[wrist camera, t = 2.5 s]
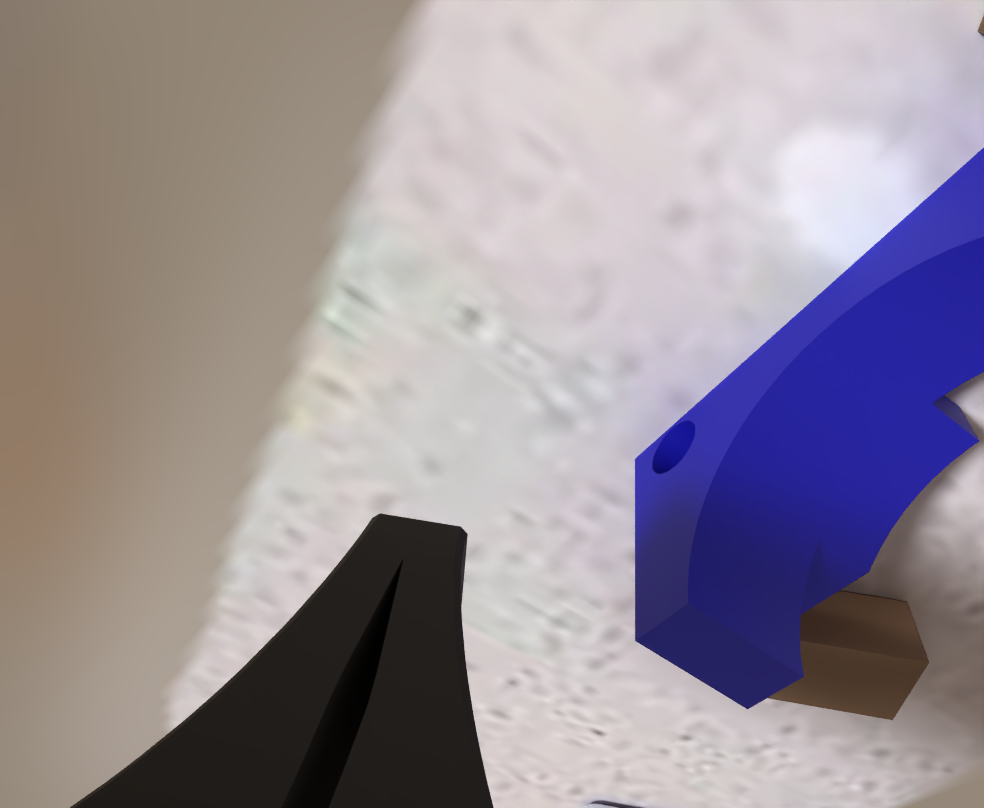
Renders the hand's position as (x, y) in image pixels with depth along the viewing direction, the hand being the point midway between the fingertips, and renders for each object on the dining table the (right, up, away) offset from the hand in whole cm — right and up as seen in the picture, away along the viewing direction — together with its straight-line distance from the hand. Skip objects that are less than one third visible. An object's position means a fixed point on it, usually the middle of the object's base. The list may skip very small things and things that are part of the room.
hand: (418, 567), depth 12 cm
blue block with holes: (+10, +4, +6) cm, 12 cm away
